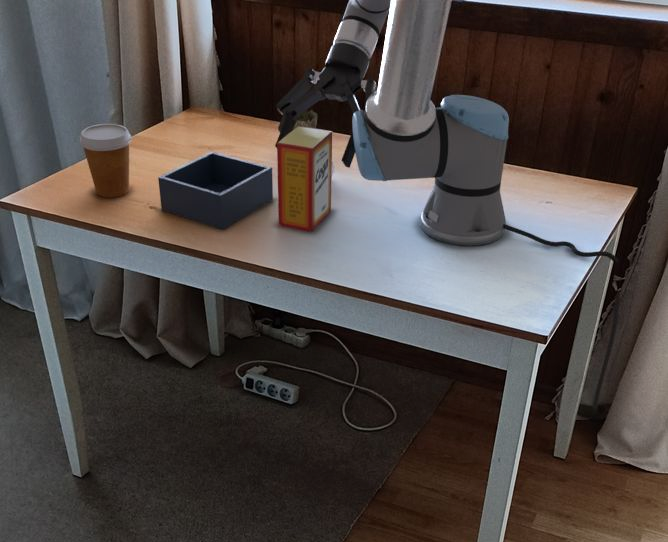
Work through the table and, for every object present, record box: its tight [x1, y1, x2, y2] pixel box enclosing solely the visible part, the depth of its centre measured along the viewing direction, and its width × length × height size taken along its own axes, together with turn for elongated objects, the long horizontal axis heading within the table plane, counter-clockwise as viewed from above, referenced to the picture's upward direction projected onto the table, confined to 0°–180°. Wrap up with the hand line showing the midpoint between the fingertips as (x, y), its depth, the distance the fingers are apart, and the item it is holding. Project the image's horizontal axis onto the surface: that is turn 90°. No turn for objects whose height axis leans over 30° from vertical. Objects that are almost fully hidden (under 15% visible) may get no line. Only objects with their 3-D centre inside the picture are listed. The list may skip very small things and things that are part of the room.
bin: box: [157, 151, 274, 230], centre depth 161 cm, size 15×16×7 cm
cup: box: [293, 109, 318, 130], centre depth 184 cm, size 8×7×8 cm
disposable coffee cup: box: [79, 123, 132, 198], centre depth 164 cm, size 10×10×12 cm
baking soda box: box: [276, 126, 333, 233], centre depth 154 cm, size 10×6×16 cm
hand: (311, 157), depth 154 cm, fingers open, 13 cm apart
